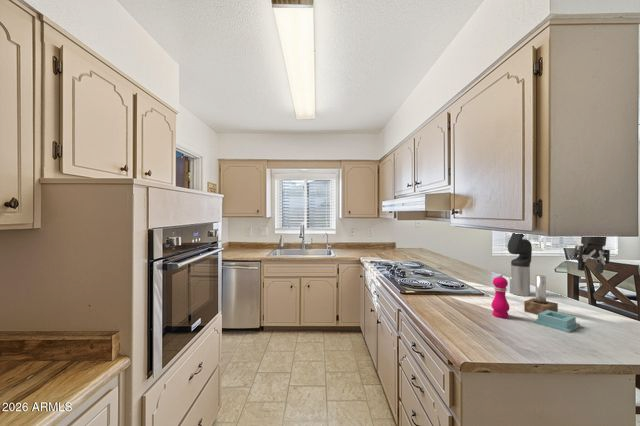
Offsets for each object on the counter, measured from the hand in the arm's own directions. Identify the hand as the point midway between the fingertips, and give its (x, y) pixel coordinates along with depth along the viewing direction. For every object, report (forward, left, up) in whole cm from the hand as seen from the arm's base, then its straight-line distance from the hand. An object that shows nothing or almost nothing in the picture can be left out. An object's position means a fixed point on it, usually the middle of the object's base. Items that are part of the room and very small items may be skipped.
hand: (590, 271), depth 117 cm
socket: (-9, -8, -24) cm, 27 cm away
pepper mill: (-27, -18, -24) cm, 40 cm away
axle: (-19, +4, -24) cm, 31 cm away
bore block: (-19, +4, -24) cm, 31 cm away
